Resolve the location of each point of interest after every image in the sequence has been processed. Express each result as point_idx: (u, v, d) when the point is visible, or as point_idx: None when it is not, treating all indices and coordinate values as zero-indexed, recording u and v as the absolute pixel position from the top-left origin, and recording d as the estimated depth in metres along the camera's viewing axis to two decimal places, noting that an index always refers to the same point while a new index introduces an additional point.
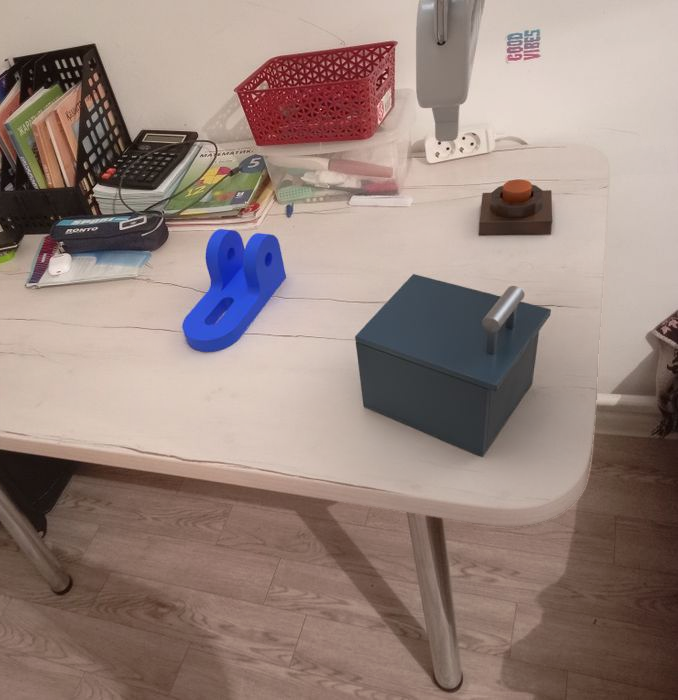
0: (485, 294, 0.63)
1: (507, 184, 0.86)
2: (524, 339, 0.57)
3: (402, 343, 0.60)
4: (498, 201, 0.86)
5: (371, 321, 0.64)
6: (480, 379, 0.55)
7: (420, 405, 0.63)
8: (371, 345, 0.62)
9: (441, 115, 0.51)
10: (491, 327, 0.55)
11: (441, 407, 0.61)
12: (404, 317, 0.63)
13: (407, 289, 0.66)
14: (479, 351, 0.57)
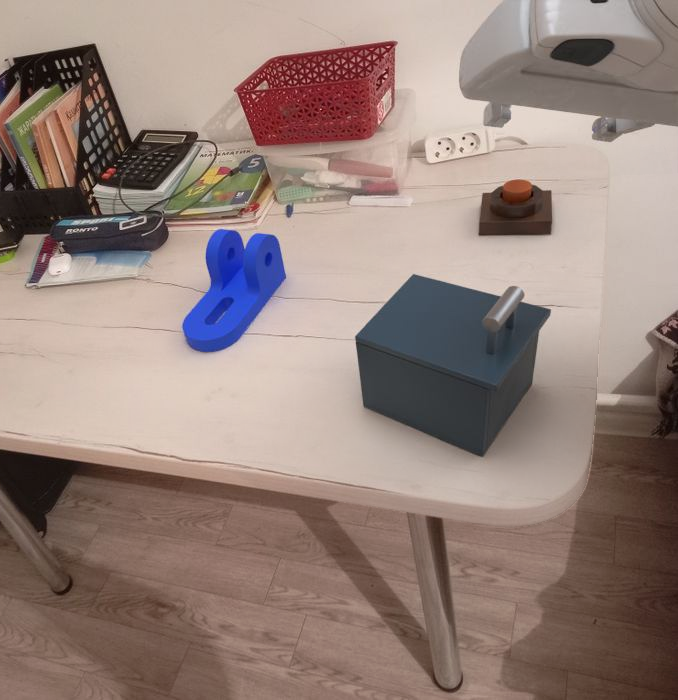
0: (485, 294, 0.63)
1: (507, 184, 0.86)
2: (524, 339, 0.57)
3: (402, 343, 0.60)
4: (498, 201, 0.86)
5: (371, 321, 0.64)
6: (480, 379, 0.55)
7: (420, 405, 0.63)
8: (371, 345, 0.62)
9: None
10: (491, 327, 0.55)
11: (441, 407, 0.61)
12: (404, 317, 0.63)
13: (407, 289, 0.66)
14: (479, 351, 0.57)
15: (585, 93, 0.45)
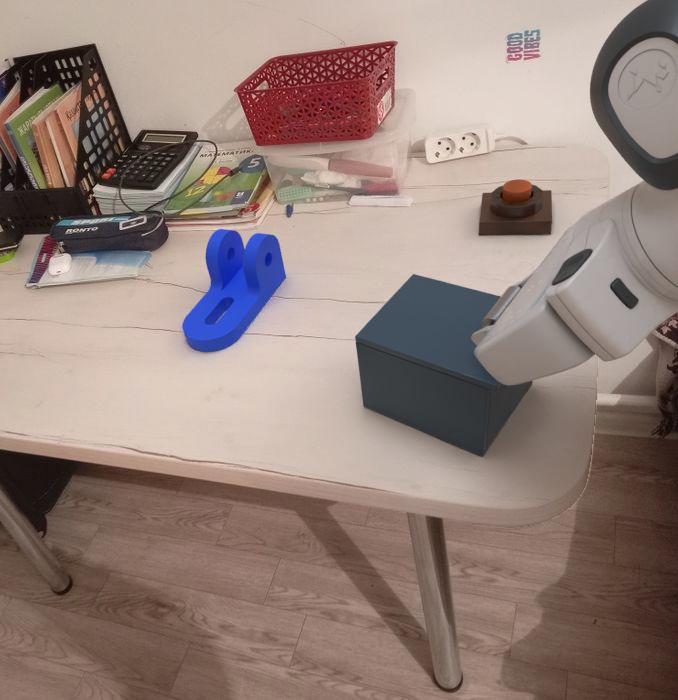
0: (485, 294, 0.63)
1: (507, 184, 0.86)
2: None
3: (402, 343, 0.60)
4: (498, 201, 0.86)
5: (371, 321, 0.64)
6: (480, 379, 0.55)
7: (420, 405, 0.63)
8: (371, 345, 0.62)
9: None
10: None
11: (441, 407, 0.61)
12: (404, 317, 0.63)
13: (407, 289, 0.66)
14: None
15: None
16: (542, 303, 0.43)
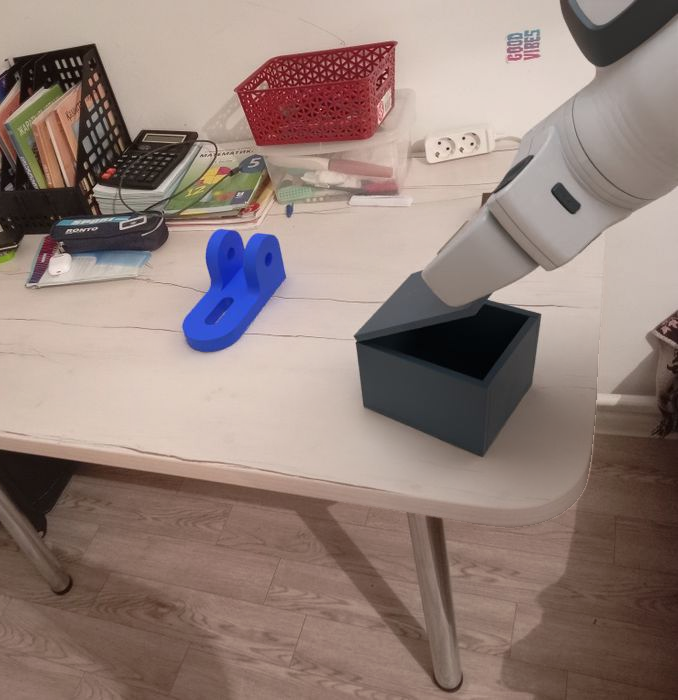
0: None
1: None
2: None
3: (392, 321, 0.59)
4: None
5: (369, 320, 0.64)
6: (456, 311, 0.52)
7: (420, 405, 0.63)
8: (368, 337, 0.62)
9: None
10: None
11: (441, 407, 0.61)
12: (397, 304, 0.63)
13: (404, 285, 0.66)
14: None
15: None
16: (484, 213, 0.42)
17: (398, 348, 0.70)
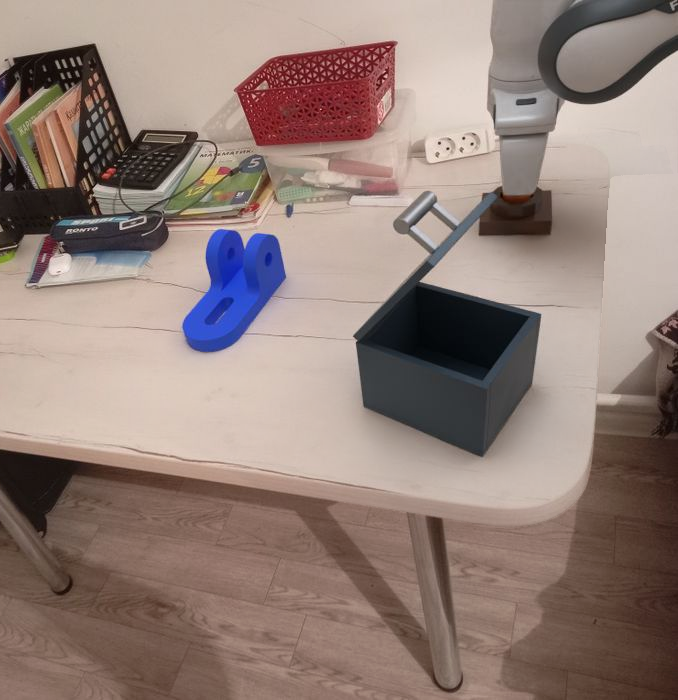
0: None
1: None
2: (462, 222, 0.54)
3: None
4: (498, 201, 0.86)
5: None
6: (418, 269, 0.52)
7: (420, 405, 0.63)
8: (363, 332, 0.61)
9: None
10: (403, 228, 0.54)
11: (441, 407, 0.61)
12: None
13: None
14: None
15: None
16: (499, 139, 0.74)
17: (398, 348, 0.70)
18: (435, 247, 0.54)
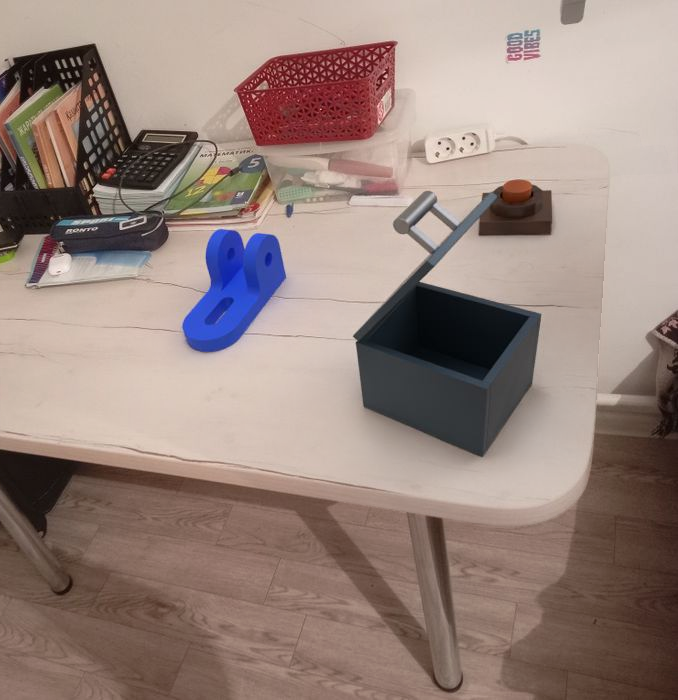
0: None
1: (507, 184, 0.86)
2: (462, 222, 0.54)
3: None
4: (498, 201, 0.86)
5: None
6: (418, 269, 0.52)
7: (420, 405, 0.63)
8: (363, 332, 0.61)
9: None
10: (403, 228, 0.54)
11: (441, 407, 0.61)
12: None
13: None
14: None
15: None
16: None
17: (398, 348, 0.70)
18: (435, 247, 0.54)
